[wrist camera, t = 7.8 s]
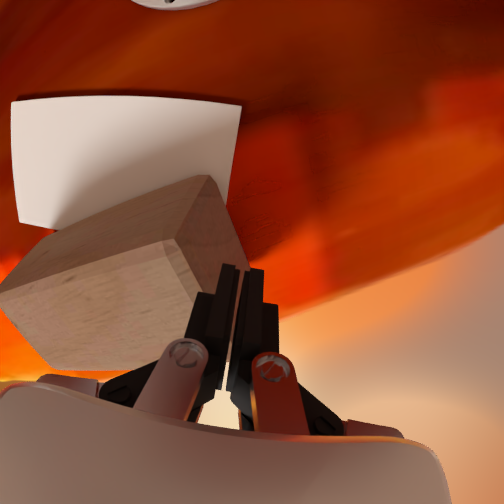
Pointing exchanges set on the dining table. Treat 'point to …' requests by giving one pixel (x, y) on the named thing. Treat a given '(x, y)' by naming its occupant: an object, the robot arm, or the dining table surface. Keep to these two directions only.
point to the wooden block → (124, 278)
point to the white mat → (113, 151)
